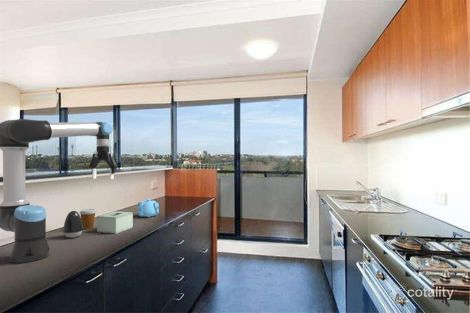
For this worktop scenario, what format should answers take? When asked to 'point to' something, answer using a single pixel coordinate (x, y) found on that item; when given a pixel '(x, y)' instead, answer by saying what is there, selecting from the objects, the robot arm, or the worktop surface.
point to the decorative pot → (147, 208)
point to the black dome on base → (73, 225)
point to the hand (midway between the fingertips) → (102, 178)
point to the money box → (114, 222)
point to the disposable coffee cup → (87, 218)
